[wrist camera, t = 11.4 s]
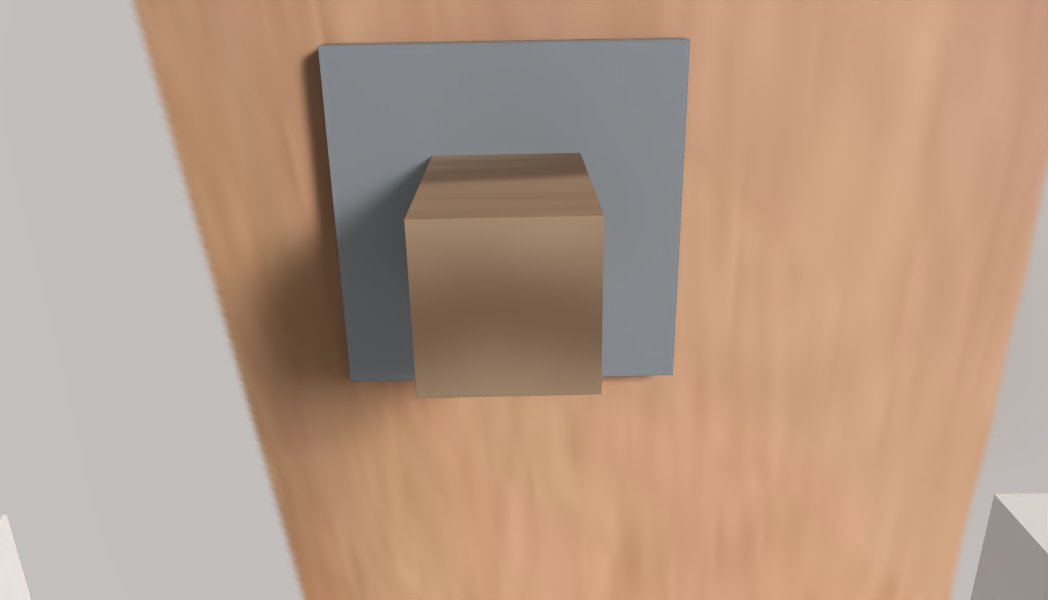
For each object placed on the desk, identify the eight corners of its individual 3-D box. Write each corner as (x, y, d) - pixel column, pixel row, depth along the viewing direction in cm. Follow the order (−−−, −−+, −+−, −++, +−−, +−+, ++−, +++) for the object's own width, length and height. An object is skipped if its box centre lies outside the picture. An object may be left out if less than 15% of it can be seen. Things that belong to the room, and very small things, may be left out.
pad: (324, 43, 28) (318, 46, 27) (684, 37, 29) (689, 39, 28) (355, 369, 33) (350, 381, 32) (667, 363, 33) (672, 375, 32)
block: (432, 155, 29) (404, 219, 21) (580, 152, 29) (604, 215, 21) (439, 294, 31) (416, 398, 23) (579, 291, 31) (601, 394, 23)
